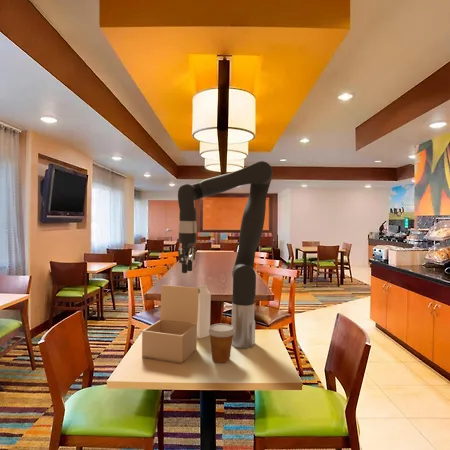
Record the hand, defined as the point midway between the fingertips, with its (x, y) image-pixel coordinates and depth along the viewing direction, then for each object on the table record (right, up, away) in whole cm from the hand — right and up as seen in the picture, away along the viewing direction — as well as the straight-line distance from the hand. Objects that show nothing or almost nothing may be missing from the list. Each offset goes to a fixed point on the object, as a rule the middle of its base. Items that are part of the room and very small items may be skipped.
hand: (187, 271), depth 144 cm
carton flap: (-3, -12, -7) cm, 14 cm away
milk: (+5, -29, +6) cm, 30 cm away
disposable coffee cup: (+14, -30, -19) cm, 38 cm away
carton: (-5, -29, -14) cm, 33 cm away
